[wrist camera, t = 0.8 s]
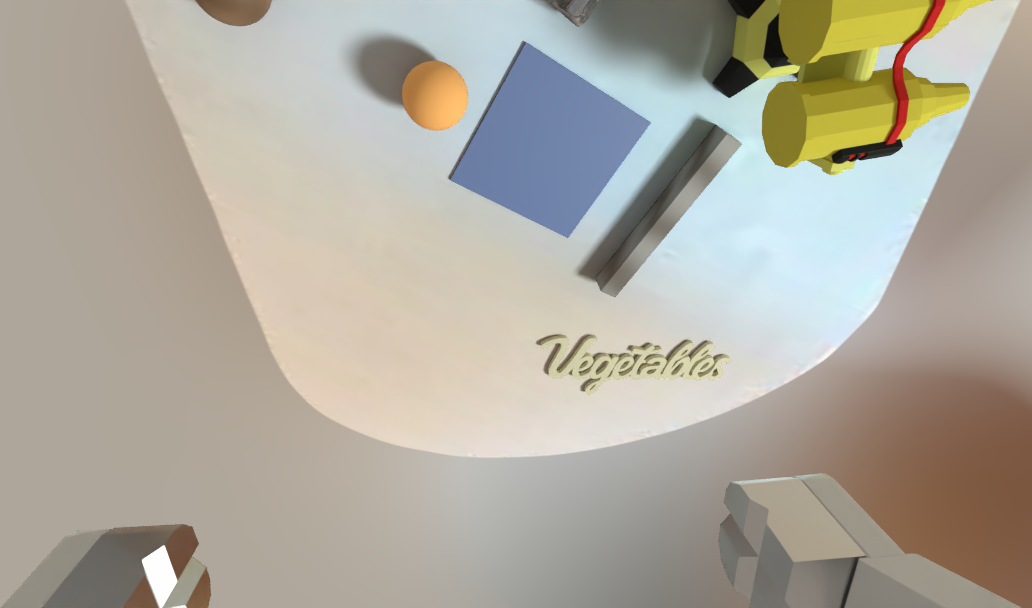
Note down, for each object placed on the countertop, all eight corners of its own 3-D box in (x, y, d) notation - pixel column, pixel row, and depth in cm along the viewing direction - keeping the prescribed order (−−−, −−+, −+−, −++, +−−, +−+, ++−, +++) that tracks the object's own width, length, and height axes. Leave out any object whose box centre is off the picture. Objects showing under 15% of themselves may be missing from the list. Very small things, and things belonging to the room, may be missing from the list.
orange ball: (419, 40, 44) (418, 56, 40) (477, 74, 46) (481, 92, 42) (393, 99, 47) (389, 120, 42) (449, 129, 49) (450, 151, 45)
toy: (846, 108, 52) (967, 170, 41) (707, 131, 52) (788, 200, 40) (901, -107, 42) (1084, -109, 30) (728, -80, 42) (845, -71, 30)
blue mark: (525, 42, 45) (525, 42, 45) (649, 122, 51) (650, 122, 51) (450, 179, 52) (450, 180, 52) (567, 237, 57) (567, 237, 57)
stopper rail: (716, 124, 52) (727, 133, 50) (730, 134, 52) (742, 144, 51) (595, 278, 61) (601, 291, 59) (609, 284, 62) (615, 297, 60)
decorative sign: (530, 394, 71) (543, 336, 65) (529, 389, 71) (541, 331, 66) (714, 395, 75) (740, 341, 69) (711, 390, 76) (737, 336, 70)
